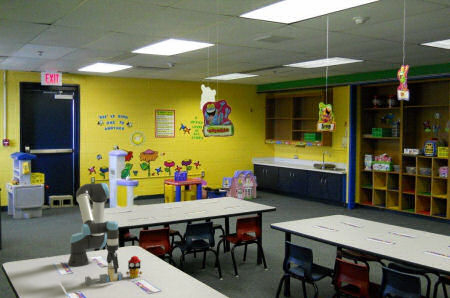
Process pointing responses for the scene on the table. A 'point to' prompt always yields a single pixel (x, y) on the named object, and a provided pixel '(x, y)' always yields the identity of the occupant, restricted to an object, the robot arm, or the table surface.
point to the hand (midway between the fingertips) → (112, 275)
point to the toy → (134, 267)
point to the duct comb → (102, 279)
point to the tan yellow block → (111, 273)
